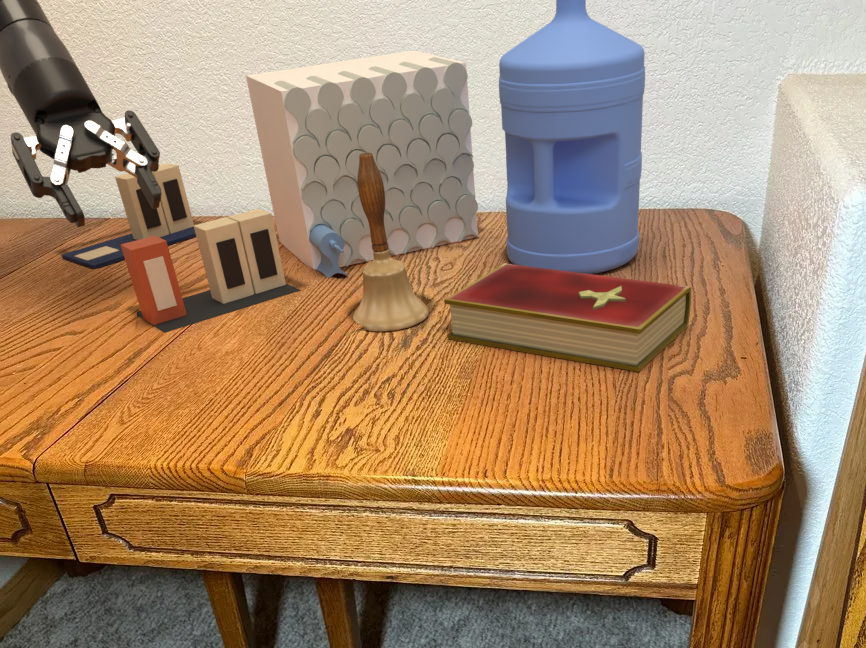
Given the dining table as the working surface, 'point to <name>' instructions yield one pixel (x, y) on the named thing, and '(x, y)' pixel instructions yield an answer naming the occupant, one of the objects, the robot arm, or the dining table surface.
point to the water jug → (573, 144)
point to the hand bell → (383, 265)
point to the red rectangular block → (154, 279)
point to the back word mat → (144, 218)
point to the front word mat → (234, 268)
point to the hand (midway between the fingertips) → (120, 212)
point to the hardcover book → (570, 315)
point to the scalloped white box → (367, 133)
